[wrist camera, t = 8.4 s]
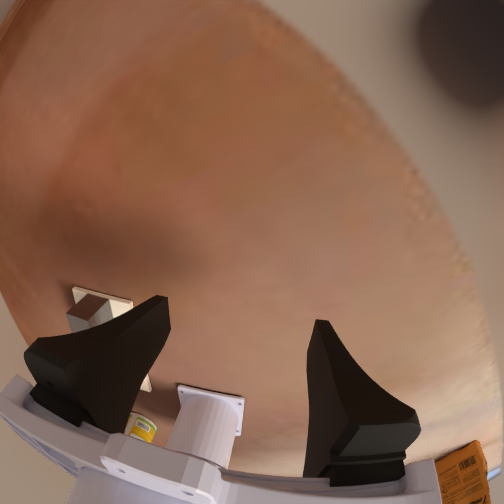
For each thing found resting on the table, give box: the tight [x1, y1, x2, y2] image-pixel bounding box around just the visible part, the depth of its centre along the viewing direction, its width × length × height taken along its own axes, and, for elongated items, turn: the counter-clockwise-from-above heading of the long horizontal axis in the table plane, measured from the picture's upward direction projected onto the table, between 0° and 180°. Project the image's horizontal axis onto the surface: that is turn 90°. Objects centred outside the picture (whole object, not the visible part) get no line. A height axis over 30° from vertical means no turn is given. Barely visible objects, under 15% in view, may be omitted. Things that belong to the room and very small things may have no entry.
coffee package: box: [434, 440, 491, 504], centre depth 23 cm, size 10×12×22 cm
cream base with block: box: [66, 286, 152, 392], centre depth 26 cm, size 14×8×5 cm, turn 175°
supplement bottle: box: [124, 412, 156, 443], centre depth 31 cm, size 5×5×10 cm
